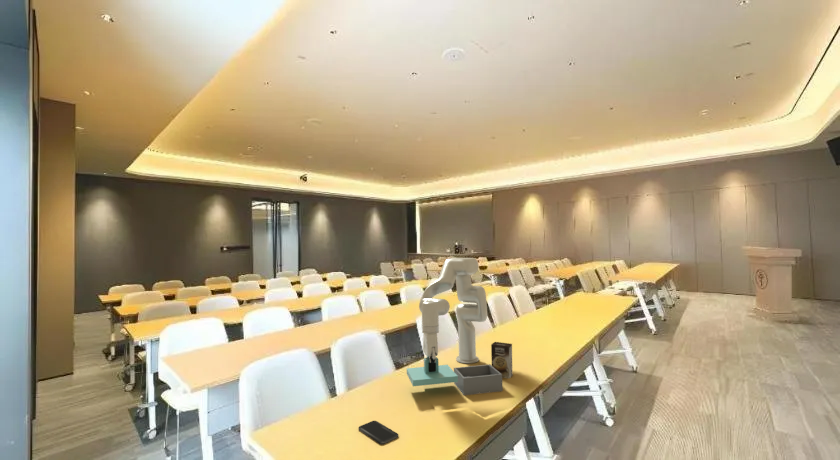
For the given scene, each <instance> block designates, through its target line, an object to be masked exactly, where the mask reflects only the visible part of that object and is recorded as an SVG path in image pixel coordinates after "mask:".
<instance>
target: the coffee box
mask: <svg viewBox="0 0 840 460" xmlns="http://www.w3.org/2000/svg"><path fill="white" fill-rule="evenodd" d="M490 346H491V347H490V348H491V353H490V354H491V357H490V358H491V366H492V367H494V368H495V369H496V370H497V371H499V372H500V373H501V374H502V379H503V378H504V379H510V378H512V377H513V343H509V342H508V343H507V342H501V341H500V342H499V341H494V342H492V343H491V345H490Z"/></svg>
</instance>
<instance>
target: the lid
mask: <svg viewBox="0 0 840 460" xmlns="http://www.w3.org/2000/svg"><path fill="white" fill-rule="evenodd" d="M428 363H429V358H427V357H424V358H423V366H420V367H419V366H417V367H408V368H406V375H407V378H408V380H409V381H410V383H411V385H412V387H420V386H430V385H432V386H433V385H440V384H451V383H452V384H453V383H454V382H458V376H457V375H456V374H455V372H454V369H452V368H451V367H450V365H448V364H442V365H441V364H440V365H439V358H438V357H437V356H436V371H435V372H429V364H428Z"/></svg>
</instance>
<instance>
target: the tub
mask: <svg viewBox="0 0 840 460" xmlns="http://www.w3.org/2000/svg"><path fill="white" fill-rule="evenodd" d="M453 371H454V372H455V374H456V375H457V376H458V382H453V383H454V385H455V387H456V388H457V389H458V390H459V391H460V393H461V394H462V396H470V395H472V396H473V395H479V394H488V393H497V392H503V390H504V389H503V378H502V374H501V373H500V372H499V371H497V370H496V369H495V368H494V367H492V364H489V363H488V364H480V365H470V366H460V367H459V366H458V367H453ZM464 376H471V377H465V378H464Z"/></svg>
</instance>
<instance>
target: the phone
mask: <svg viewBox="0 0 840 460" xmlns="http://www.w3.org/2000/svg"><path fill="white" fill-rule="evenodd" d="M358 431H359V432H360V433H362V434H364V435H365V436H366V437H368V438H369V439H371V440H372V441H374V442H375V443H377V444H379V445H382V446H383V445H387V443H388V444H389V443H390V442H392V441H394V440H396V439H398V438H399V433H397V432H396V431H394V430H392V429H391V428H389V427H387V425H384V424H383V423H381V422H379V421H377V420H372V421H369V422H367V423H364V424H362V425H360V426H358Z"/></svg>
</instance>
